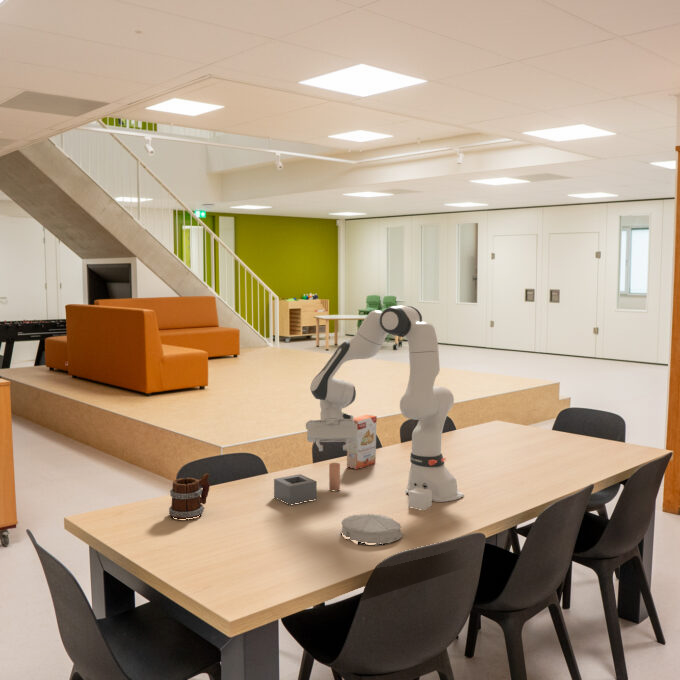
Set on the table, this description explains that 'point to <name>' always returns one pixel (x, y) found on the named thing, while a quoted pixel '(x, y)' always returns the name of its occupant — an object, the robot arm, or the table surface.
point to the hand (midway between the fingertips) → (333, 450)
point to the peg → (334, 476)
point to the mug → (188, 497)
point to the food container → (371, 528)
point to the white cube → (420, 498)
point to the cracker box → (363, 443)
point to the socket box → (295, 489)
